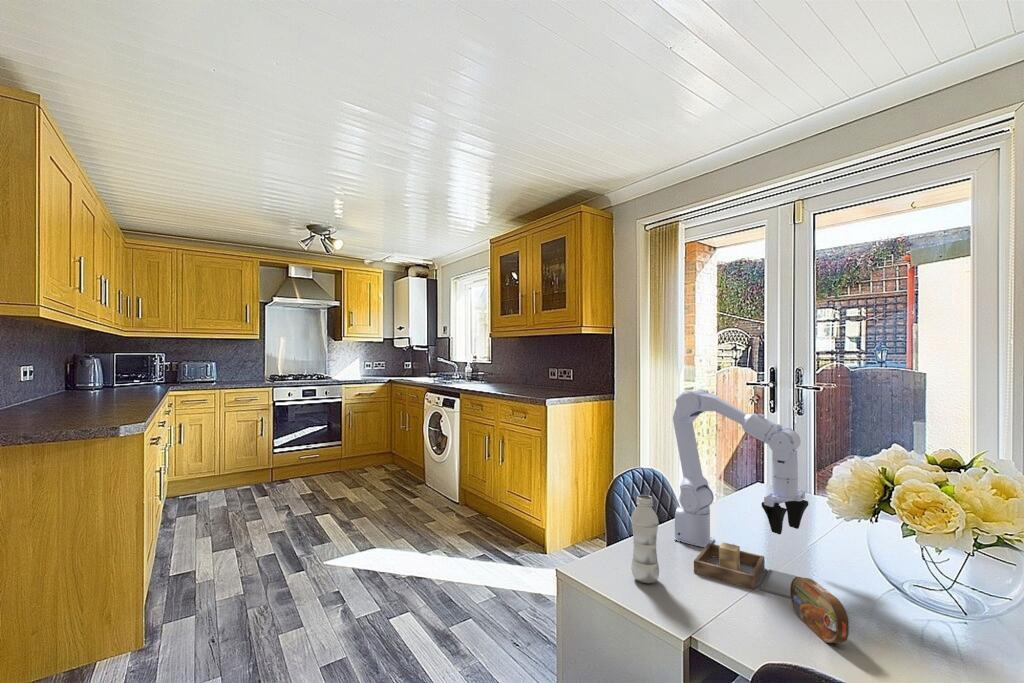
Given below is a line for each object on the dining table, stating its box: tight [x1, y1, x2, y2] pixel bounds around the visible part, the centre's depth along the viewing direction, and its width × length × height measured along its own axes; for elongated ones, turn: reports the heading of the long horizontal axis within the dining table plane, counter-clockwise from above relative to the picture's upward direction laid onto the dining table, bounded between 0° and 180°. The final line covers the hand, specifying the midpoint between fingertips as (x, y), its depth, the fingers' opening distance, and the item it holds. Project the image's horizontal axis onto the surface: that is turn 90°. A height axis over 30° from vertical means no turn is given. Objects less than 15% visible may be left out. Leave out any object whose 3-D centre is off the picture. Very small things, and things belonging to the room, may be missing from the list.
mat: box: [760, 569, 803, 599], centre depth 110 cm, size 8×12×1 cm, turn 142°
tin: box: [790, 576, 850, 644], centre depth 92 cm, size 15×3×8 cm, turn 178°
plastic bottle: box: [630, 494, 660, 584], centre depth 112 cm, size 6×7×20 cm
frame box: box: [693, 543, 766, 591], centre depth 117 cm, size 14×14×3 cm
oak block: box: [718, 542, 741, 572], centre depth 117 cm, size 4×4×6 cm
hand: (785, 530), depth 118 cm, fingers open, 7 cm apart
